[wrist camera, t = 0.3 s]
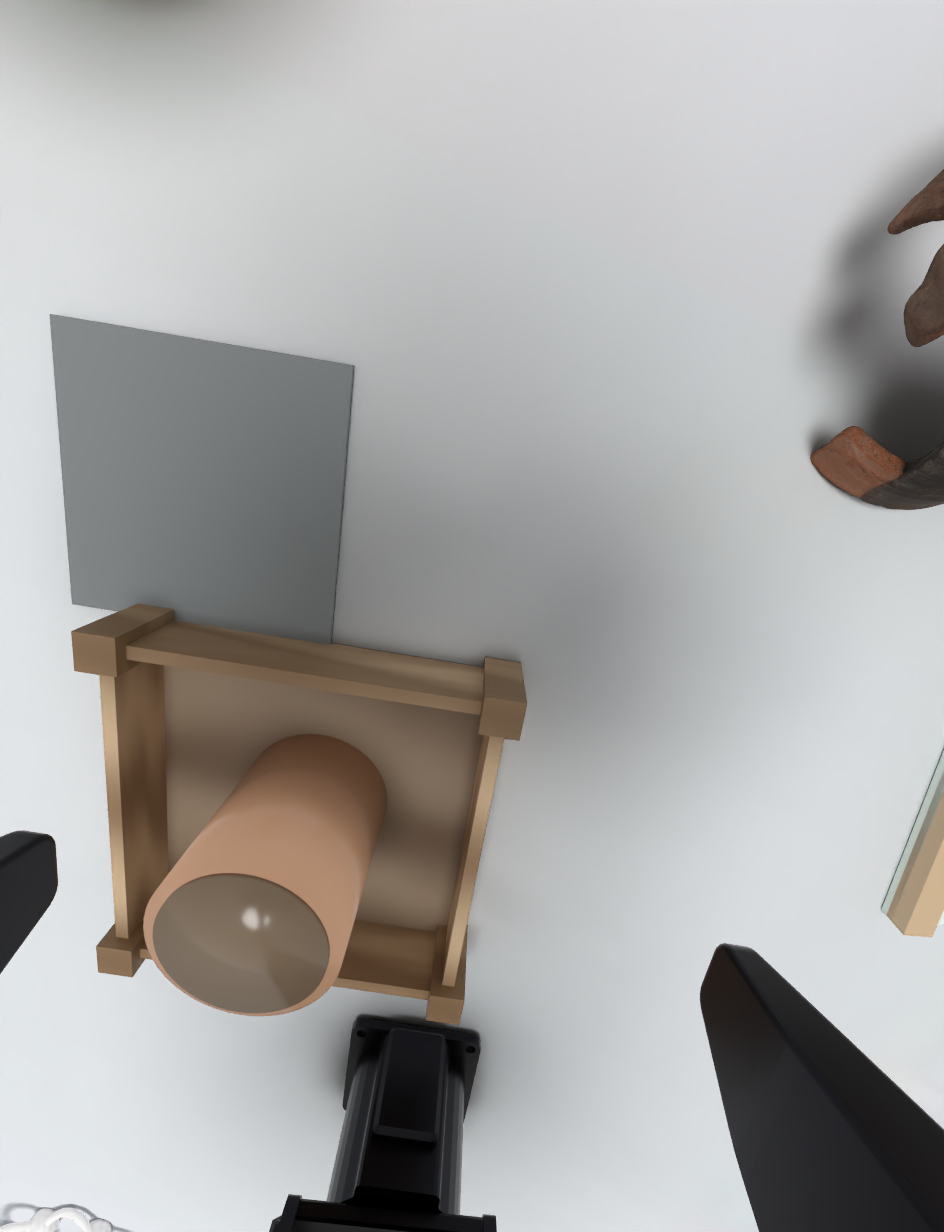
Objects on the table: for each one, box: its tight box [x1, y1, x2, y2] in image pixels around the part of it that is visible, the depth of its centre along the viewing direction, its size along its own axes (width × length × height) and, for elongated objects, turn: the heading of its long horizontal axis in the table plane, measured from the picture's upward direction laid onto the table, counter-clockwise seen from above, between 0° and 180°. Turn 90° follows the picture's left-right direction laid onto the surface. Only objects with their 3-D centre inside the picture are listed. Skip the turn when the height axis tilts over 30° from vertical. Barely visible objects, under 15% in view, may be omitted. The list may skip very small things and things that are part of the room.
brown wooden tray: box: [71, 604, 527, 1025], centre depth 21 cm, size 15×15×4 cm
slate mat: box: [50, 314, 354, 645], centre depth 19 cm, size 10×10×1 cm
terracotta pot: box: [143, 734, 387, 1016], centre depth 19 cm, size 6×6×7 cm
